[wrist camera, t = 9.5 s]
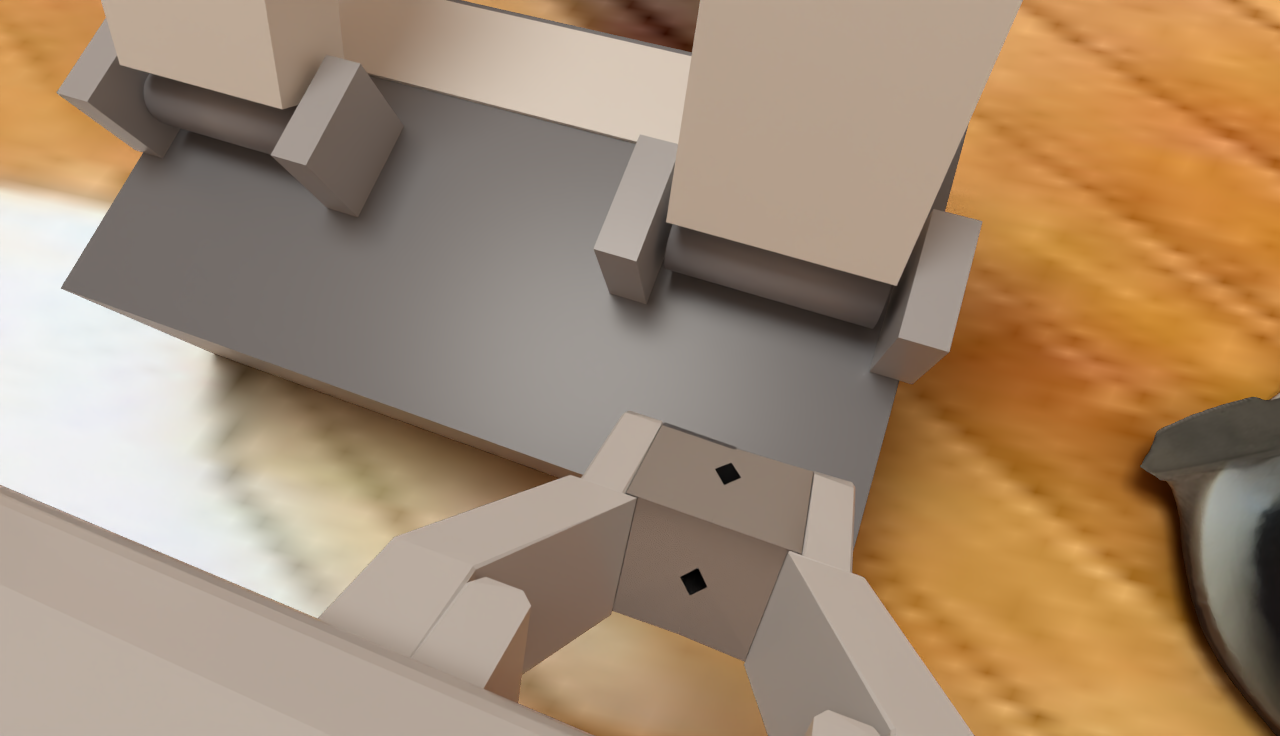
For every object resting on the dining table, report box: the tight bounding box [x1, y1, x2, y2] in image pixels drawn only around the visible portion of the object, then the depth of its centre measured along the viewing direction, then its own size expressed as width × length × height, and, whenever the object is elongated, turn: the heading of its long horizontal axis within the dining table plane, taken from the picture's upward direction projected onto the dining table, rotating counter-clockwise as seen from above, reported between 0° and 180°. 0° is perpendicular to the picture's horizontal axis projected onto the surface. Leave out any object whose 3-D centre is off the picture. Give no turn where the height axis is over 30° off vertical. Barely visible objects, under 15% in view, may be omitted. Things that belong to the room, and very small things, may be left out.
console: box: [57, 0, 982, 550], centre depth 20 cm, size 12×23×8 cm, turn 70°
